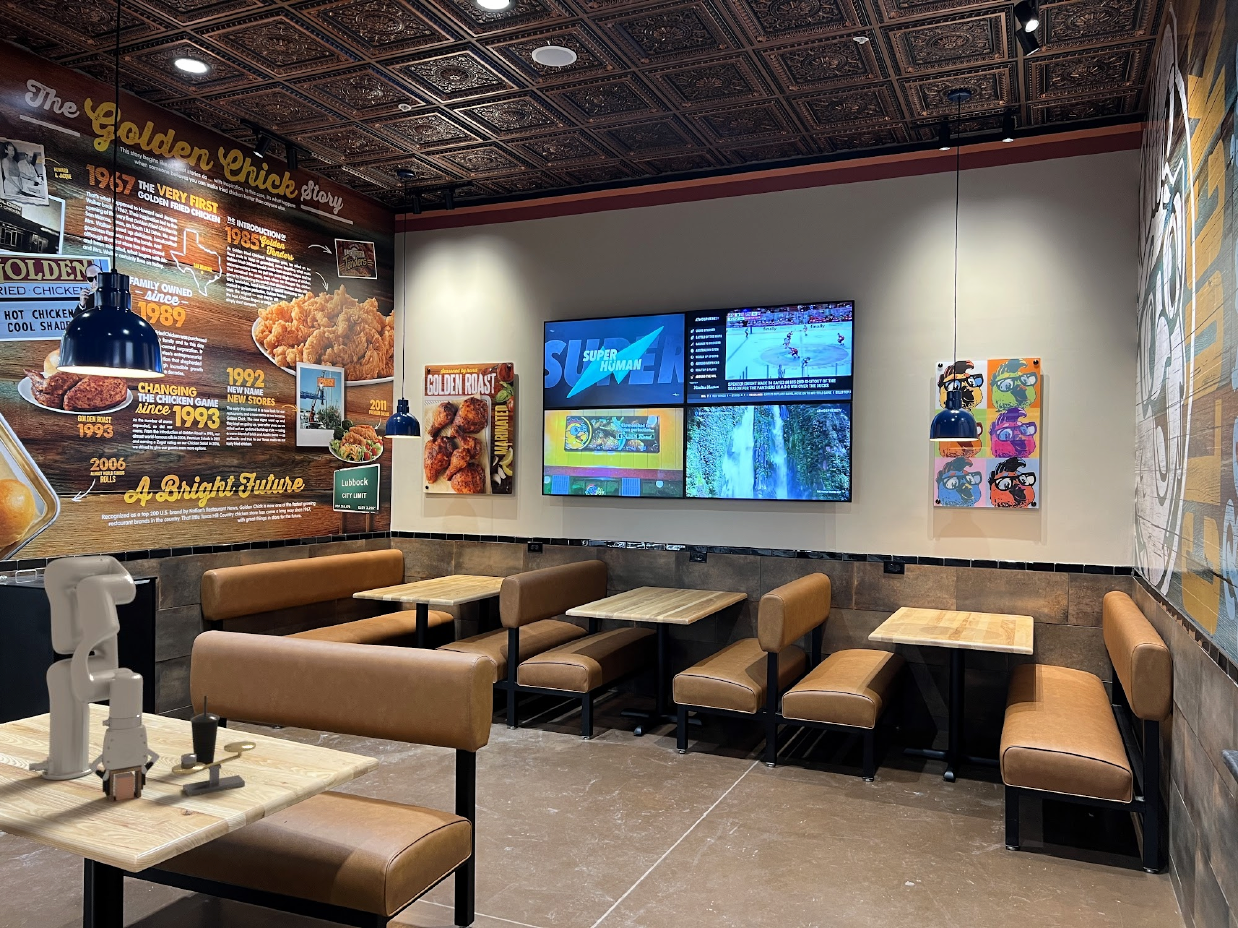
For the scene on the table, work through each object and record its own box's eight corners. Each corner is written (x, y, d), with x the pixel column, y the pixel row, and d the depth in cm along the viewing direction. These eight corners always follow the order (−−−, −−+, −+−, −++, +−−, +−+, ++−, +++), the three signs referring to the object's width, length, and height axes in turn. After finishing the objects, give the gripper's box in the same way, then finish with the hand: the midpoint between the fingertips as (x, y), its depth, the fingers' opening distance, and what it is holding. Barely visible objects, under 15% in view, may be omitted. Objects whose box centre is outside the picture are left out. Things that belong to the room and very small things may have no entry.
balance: (174, 799, 233) (175, 760, 233) (168, 790, 239) (169, 752, 239) (258, 784, 245) (259, 746, 245) (250, 776, 252) (251, 739, 252)
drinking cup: (207, 770, 256) (208, 699, 256) (183, 768, 257) (184, 697, 258) (224, 762, 263) (225, 693, 264) (200, 760, 265) (202, 691, 265)
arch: (110, 802, 230) (110, 771, 230) (106, 795, 235) (107, 765, 235) (141, 796, 234) (141, 766, 234) (137, 790, 239) (137, 760, 239)
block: (116, 800, 232) (116, 778, 232) (113, 795, 235) (114, 774, 235) (133, 797, 234) (134, 775, 234) (131, 792, 238) (131, 771, 238)
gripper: (88, 730, 227) (87, 802, 226) (165, 720, 237) (163, 788, 237) (85, 723, 233) (83, 793, 232) (159, 714, 243) (158, 781, 243)
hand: (124, 790), depth 235 cm, fingers closed on arch, 7 cm apart
